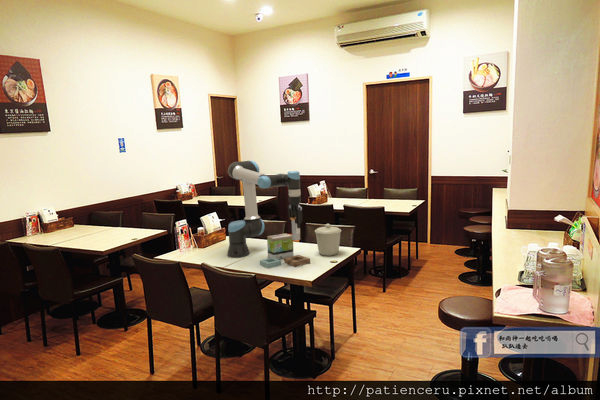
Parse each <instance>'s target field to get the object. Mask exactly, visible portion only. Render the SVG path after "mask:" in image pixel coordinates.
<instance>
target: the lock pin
mask: <svg viewBox="0 0 600 400" xmlns="http://www.w3.org/2000/svg"><path fill="white" fill-rule="evenodd" d="M290 220H292V224H291V235H292V240H293V241H294V242H295V241H300V240H301V232H300V233H297V234H296V216H295V217H292V218H290Z"/></svg>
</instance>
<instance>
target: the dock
mask: <svg viewBox="0 0 600 400" xmlns="http://www.w3.org/2000/svg"><path fill="white" fill-rule="evenodd" d="M283 262H284V264H286V265H290V266H291V267H293V268H297V267H301V266H305V265H308V264H311V258H310V257H306V256H304V255H301V254H296V255H293V256H292V257H287V258H283Z"/></svg>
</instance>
